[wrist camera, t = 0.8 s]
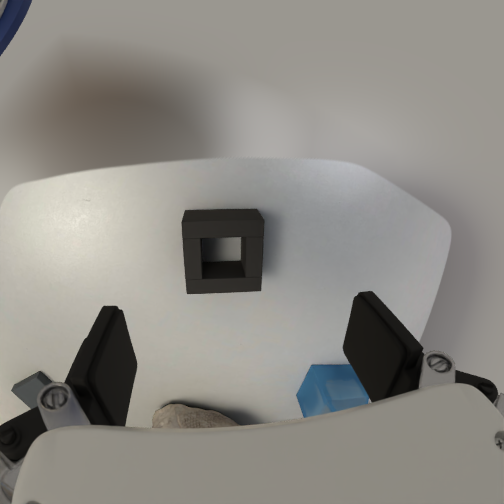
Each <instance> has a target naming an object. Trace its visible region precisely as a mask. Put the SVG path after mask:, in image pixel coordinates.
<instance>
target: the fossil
mask: <svg viewBox="0 0 504 504" xmlns="http://www.w3.org/2000/svg"><path fill="white" fill-rule="evenodd" d="M152 424H153V426H152V428H218V427H233V426H241V425H238V424H237V423H235V422H234V421H233V420H232V419H230V418H228V417H226V416H224V415H222V414H221V413H219V412H216V411H213V410H208V411H206V410H203V409H199V408H190V407H187V406H185V405H183V404H174V405H173V404H169V405H167V406H165V407H163V408H162V409H158V410H157V411H155V413H154V416H153V419H152Z"/></svg>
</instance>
